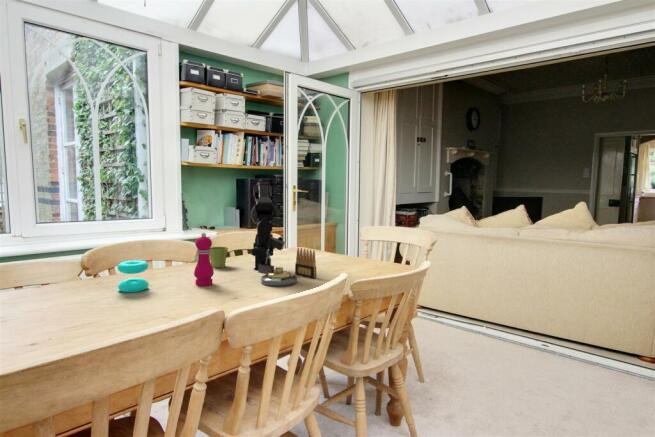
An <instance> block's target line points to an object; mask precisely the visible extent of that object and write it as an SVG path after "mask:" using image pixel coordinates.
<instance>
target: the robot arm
mask: <svg viewBox="0 0 655 437" xmlns="http://www.w3.org/2000/svg"><path fill="white" fill-rule="evenodd" d="M252 190H253V197H254V201H255V204H254V219H255V220H256V219H257V220H256V234H255V238H254V242H253V247H252V249H251V250H250V253H251V256H253V257H254V268H253V270H255V271H256V270H257V271H258V264H266V265H272V258H271V257H273V256H274V250H275V249H277V250H278V251H282V250H283V248H284V246H285V243H286V242H285V240H284V237H282V236H279V237H278V238H277V237H273V236H274V235H273V233H272V230H273V224H272V220H271V219H273V220H274V219H275V217H276V206H275V205H274V204H273V201H272V199H271V197H272V195H273V194H272V190H273V188H272V186H271V185H270V184H269V183H268V182H257V184H254V185H253V189H252Z"/></svg>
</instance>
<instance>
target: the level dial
mask: <svg viewBox="0 0 655 437" xmlns="http://www.w3.org/2000/svg"><path fill="white" fill-rule="evenodd" d="M257 271H258V272H257V273H259V274H264V275H267V274H268V278H270V279H272V278H281V279H288V278H290V277H291V271H288V270H284V267H281V266H277V267H275V265H272V264H271V265H266V264H258V270H257Z"/></svg>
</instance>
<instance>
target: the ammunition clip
mask: <svg viewBox="0 0 655 437" xmlns="http://www.w3.org/2000/svg"><path fill="white" fill-rule="evenodd" d="M316 263H317V262H316V252H315V250H314V249H313V251H312V249H310V250H309V249H308V248H307V249H306V248H302V247H300V248H299V247H297V250H296V259H295V267H294V270H295V271H294V275H295V276H296V277H297V276H299V277H303V278H308V279H312V280H315V279H317V266H316V265H317V264H316Z"/></svg>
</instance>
